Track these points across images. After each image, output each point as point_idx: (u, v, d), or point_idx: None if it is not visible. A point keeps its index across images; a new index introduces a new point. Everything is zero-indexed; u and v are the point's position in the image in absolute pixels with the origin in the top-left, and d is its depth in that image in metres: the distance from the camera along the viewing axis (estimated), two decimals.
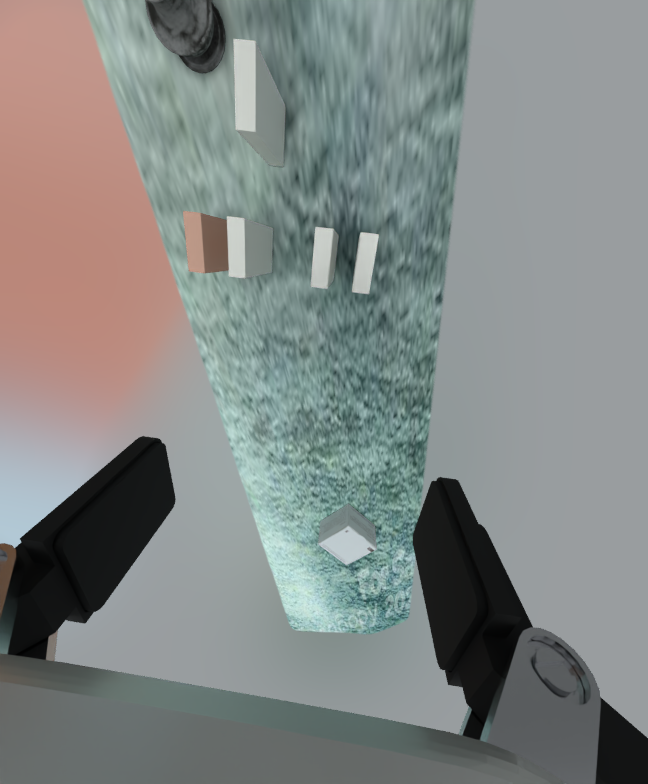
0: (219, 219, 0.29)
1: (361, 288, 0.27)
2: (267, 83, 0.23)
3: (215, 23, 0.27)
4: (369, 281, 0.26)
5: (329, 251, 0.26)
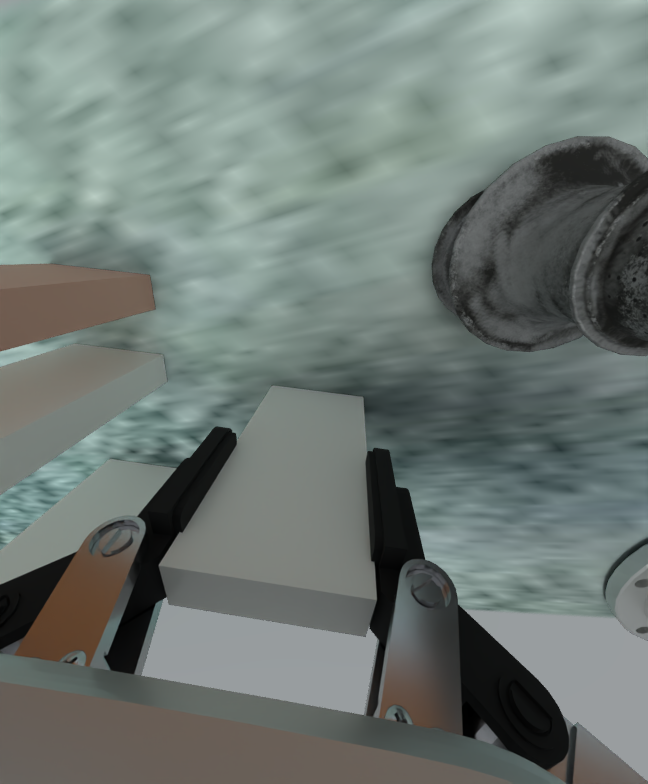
0: (29, 342, 0.09)
1: None
2: None
3: None
4: None
5: None
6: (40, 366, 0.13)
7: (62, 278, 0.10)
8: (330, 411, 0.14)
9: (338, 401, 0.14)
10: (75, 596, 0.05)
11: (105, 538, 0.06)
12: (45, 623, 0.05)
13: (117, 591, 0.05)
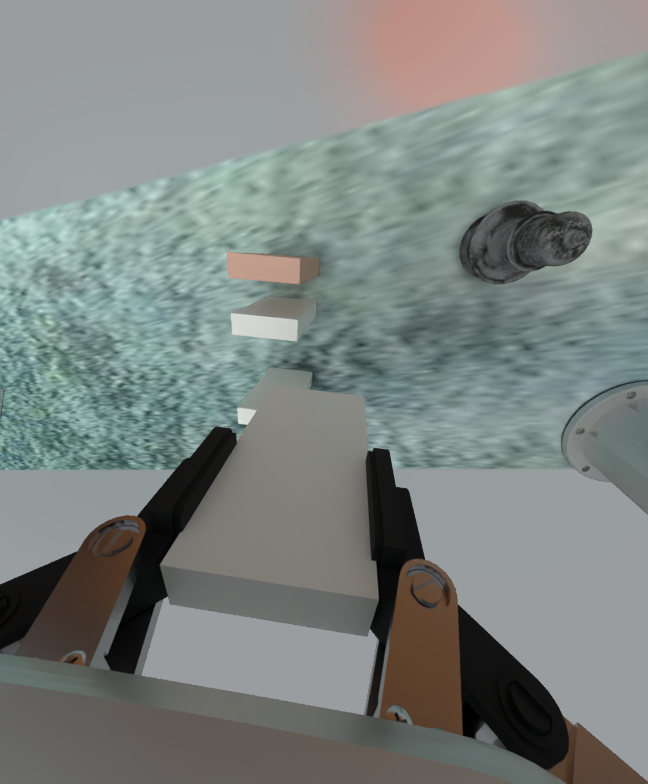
0: None
1: None
2: None
3: None
4: None
5: None
6: (273, 301, 0.27)
7: (304, 257, 0.24)
8: (331, 410, 0.13)
9: (339, 400, 0.14)
10: (74, 596, 0.05)
11: (105, 538, 0.06)
12: (45, 623, 0.05)
13: (117, 591, 0.05)
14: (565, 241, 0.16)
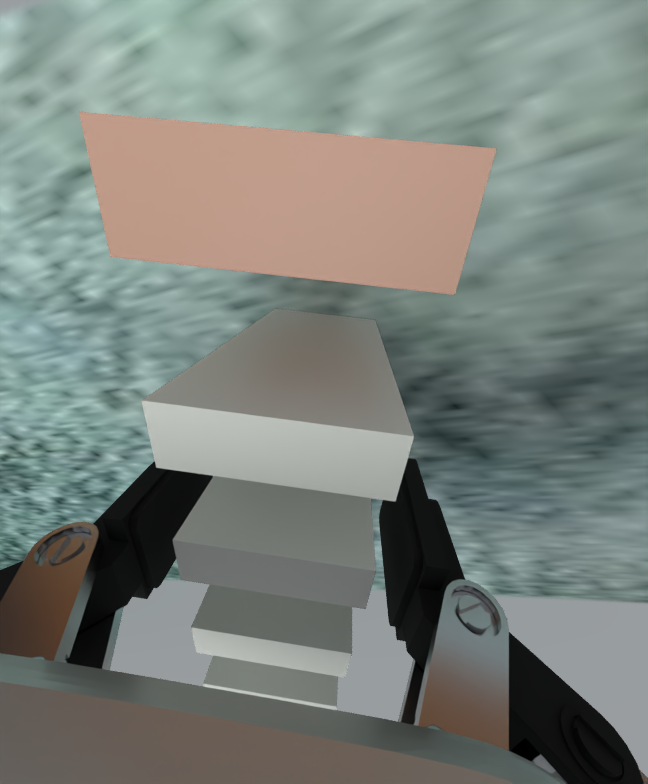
0: None
1: None
2: None
3: None
4: None
5: (291, 666, 0.09)
6: (288, 325, 0.11)
7: None
8: None
9: None
10: (23, 607, 0.05)
11: (52, 548, 0.06)
12: None
13: (73, 595, 0.05)
14: None
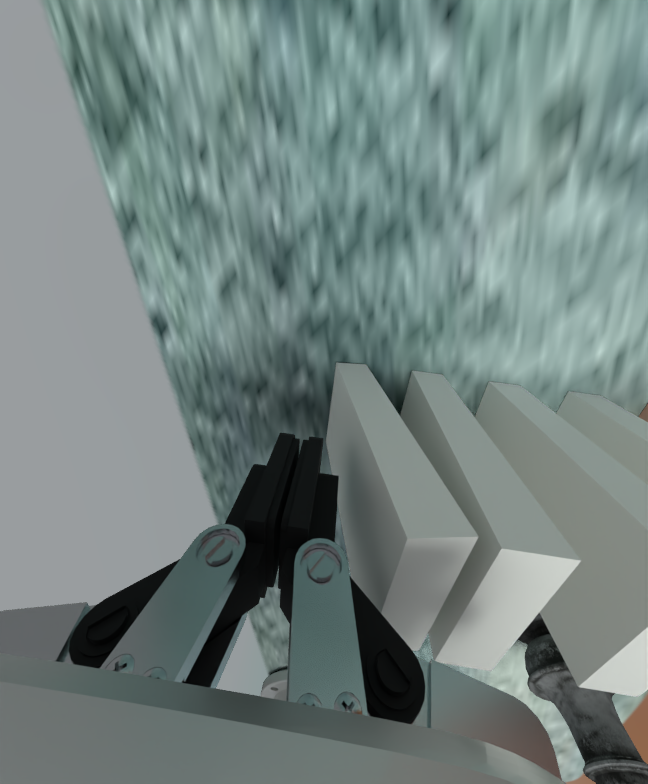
0: None
1: (436, 550, 0.06)
2: None
3: None
4: (401, 571, 0.06)
5: (459, 629, 0.07)
6: None
7: None
8: None
9: None
10: (174, 599, 0.05)
11: (211, 543, 0.07)
12: (147, 619, 0.05)
13: (207, 612, 0.05)
14: None
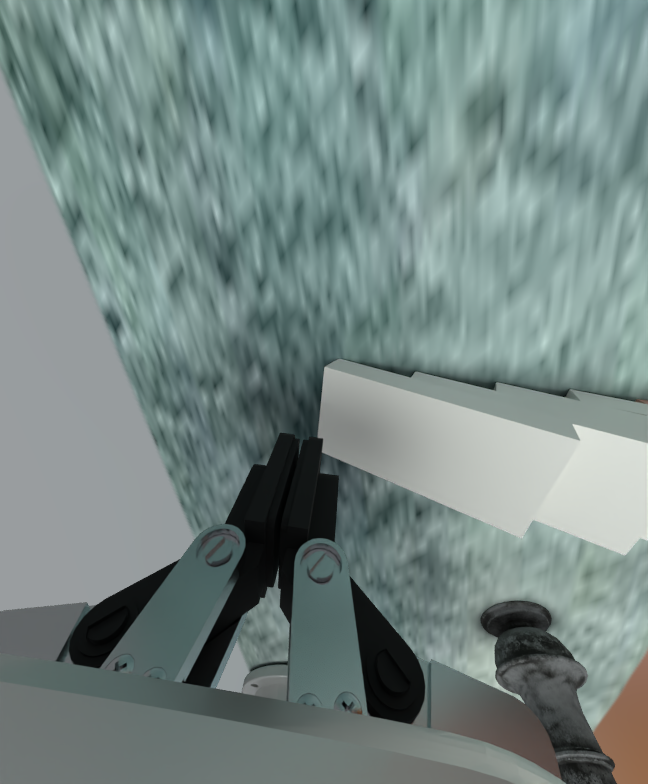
0: None
1: None
2: None
3: (490, 627, 0.23)
4: (564, 464, 0.10)
5: None
6: None
7: None
8: None
9: None
10: (174, 600, 0.05)
11: (211, 543, 0.07)
12: (147, 619, 0.05)
13: (207, 612, 0.05)
14: None
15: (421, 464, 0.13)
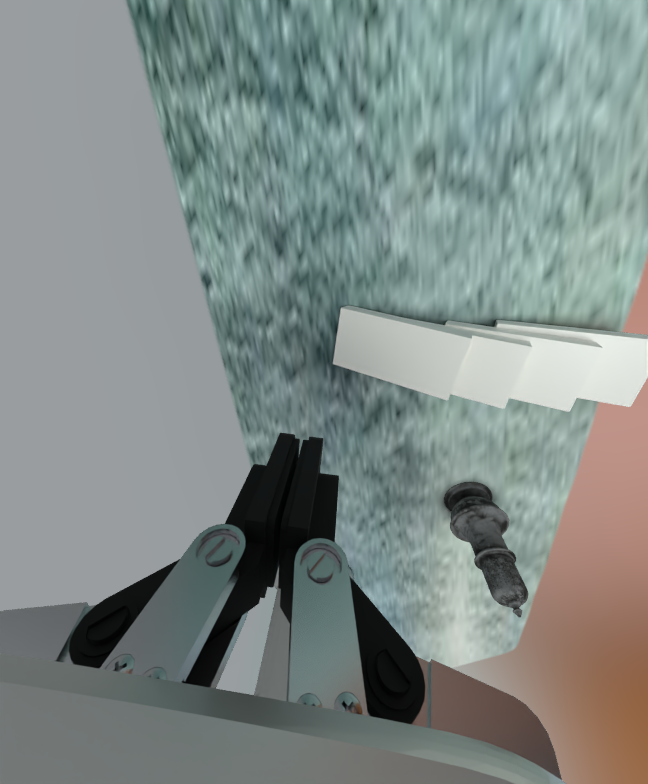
0: None
1: None
2: (524, 389, 0.22)
3: (450, 503, 0.33)
4: (465, 353, 0.20)
5: (513, 387, 0.21)
6: None
7: None
8: None
9: None
10: (174, 600, 0.05)
11: (211, 543, 0.07)
12: (147, 619, 0.05)
13: (207, 612, 0.05)
14: (514, 602, 0.23)
15: (395, 364, 0.23)
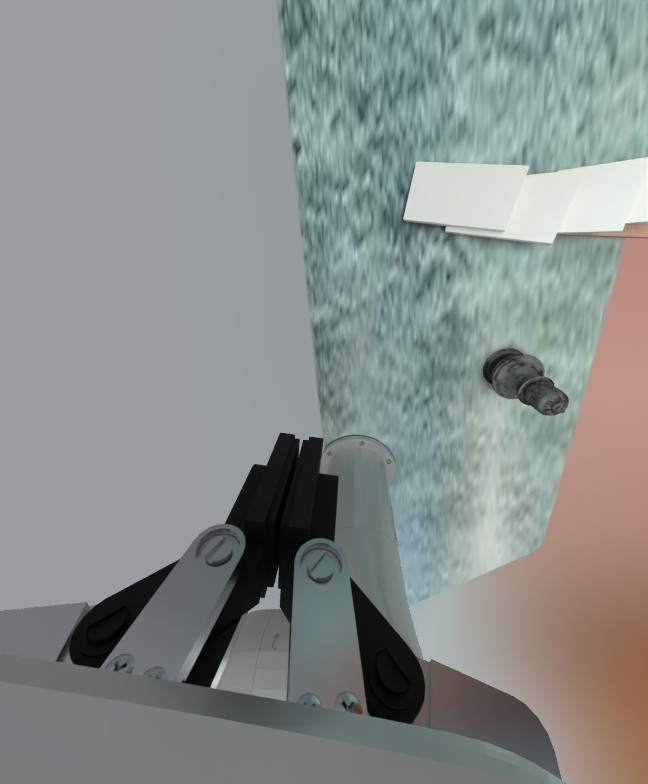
0: (628, 235, 0.29)
1: None
2: (582, 220, 0.27)
3: (489, 371, 0.38)
4: (523, 181, 0.26)
5: (561, 222, 0.26)
6: None
7: None
8: None
9: None
10: (174, 600, 0.05)
11: (211, 543, 0.07)
12: (147, 619, 0.05)
13: (207, 612, 0.05)
14: (557, 404, 0.28)
15: (461, 205, 0.28)
